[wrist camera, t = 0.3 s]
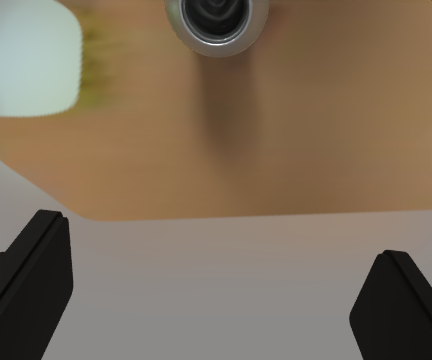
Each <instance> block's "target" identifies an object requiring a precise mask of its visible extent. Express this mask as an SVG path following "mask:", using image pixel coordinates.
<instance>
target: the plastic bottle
mask: <svg viewBox="0 0 432 360" xmlns="http://www.w3.org/2000/svg"><path fill="white" fill-rule="evenodd" d="M165 9H166V13H167V17H168V20H169V22H170V24H171V26H172V29H173V30H174V32H175V33H176V35H177V36H178V38H179V39H180V40H181V41H182V42H183V43H184V44H185V45H186V46H188V47H189V48H190V49H192V50H193V51H195V52H197V53H199V54H202V55H204V56H208V57H213V58H224V57H230V56H233V55H236V54H238V53H241V52H242V51H244V50H245V49H247V48H248V47H250V46H251V45H252V44H253V43H254V42H255V41H256V40H257V38H258V37H259V35H260V34H261V32H262V30H263V28H264V26H265V23H266V21H267V16H268V12H269V0H165Z"/></svg>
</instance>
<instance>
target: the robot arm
mask: <svg viewBox="0 0 432 360" xmlns="http://www.w3.org/2000/svg"><path fill="white" fill-rule="evenodd" d="M72 291H73V272H72V260H71V247H70V234H69V222H68V219H67V217H63V215H62V213H61V212H58V211H49V210H38V211H37V212H36V214H35V215H34V216H33V218H32V219H31V220H30V221H29V223H28V224H27V225H26V226H25V228H24V229H23V230H22V231H21V233H20V234H19V235H18V236H17V238H16V239H15V240H14V242H13V243H12V244H11V245H10V247H9V248H8V249H7V250H6V251H5V252H0V360H41V359H42V357H43V354H44V352H45V350H46V348H47V346H48V344H49V342H50V340H51V337H52V335H53V333H54V331H55V329H56V327H57V325H58V323H59V321H60V318H61V316H62V314H63V312H64V310H65V308H66V306H67V303H68V301H69V299H70V297H71V295H72ZM349 320H350V326H351V328H352V331H353V334H354V336H355V339H356V341H357V344H358V347H359V349H360V352H361V354H362V357H363V360H432V287H431V286H430V284H429V283H428V281H427V280H426V278H425V277H424V276H423V274H422V273H421V271H420V270H419V268H418V267H417V266H416V264H415V263H414V261H413V260H412V258H411V257H410V256H409V254H408V253H406V252H402V251H394V250H385V251H384V252H383V253H382V254H379V255H377V257H376V259H375V261H374V263H373V265H372V268H371V270H370V272H369V274H368V276H367V278H366V280H365V283H364V285H363V287H362V289H361V291H360V293H359V295H358V297H357V300H356V302H355V304H354V306H353V308H352V310H351V312H350V317H349Z"/></svg>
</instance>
